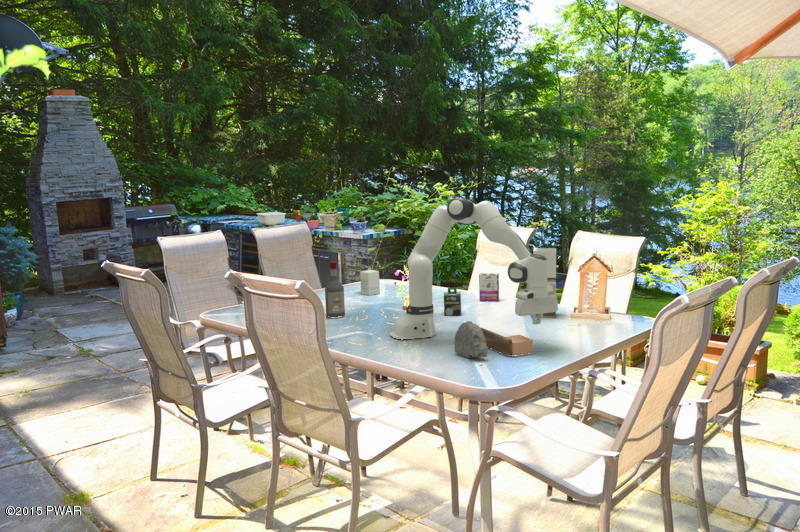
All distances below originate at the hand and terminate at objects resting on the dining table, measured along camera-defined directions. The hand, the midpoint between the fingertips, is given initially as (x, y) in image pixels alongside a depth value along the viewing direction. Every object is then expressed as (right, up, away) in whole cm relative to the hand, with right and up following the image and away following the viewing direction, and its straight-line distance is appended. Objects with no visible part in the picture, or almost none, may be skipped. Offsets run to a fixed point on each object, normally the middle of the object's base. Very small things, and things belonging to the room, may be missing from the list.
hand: (536, 323), depth 271 cm
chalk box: (-30, -1, +69) cm, 76 cm away
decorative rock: (-29, -13, -8) cm, 33 cm away
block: (-9, -12, -4) cm, 16 cm away
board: (-18, -11, +1) cm, 21 cm away
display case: (+17, -1, +59) cm, 62 cm away
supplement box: (-78, +7, +132) cm, 153 cm away
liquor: (-94, -3, +72) cm, 119 cm away
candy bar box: (-6, +4, +100) cm, 100 cm away
